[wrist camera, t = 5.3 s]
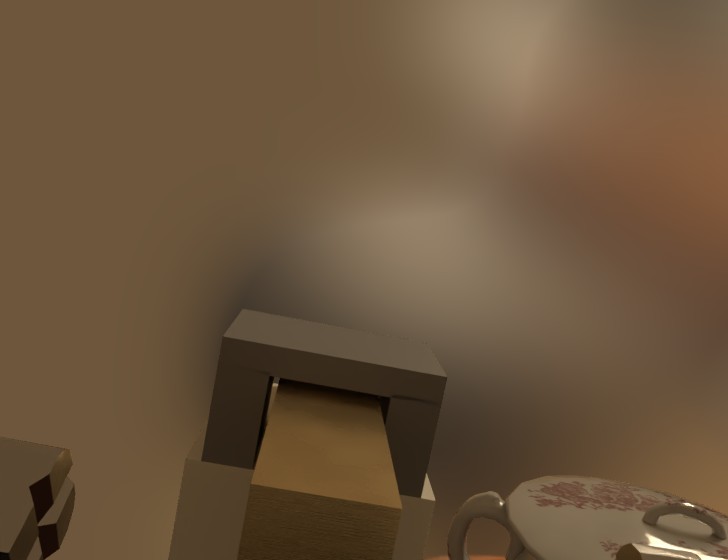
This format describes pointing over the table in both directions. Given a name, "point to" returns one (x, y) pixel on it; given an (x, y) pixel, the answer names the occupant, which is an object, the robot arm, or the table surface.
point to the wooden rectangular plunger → (322, 479)
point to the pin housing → (253, 407)
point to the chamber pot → (590, 520)
